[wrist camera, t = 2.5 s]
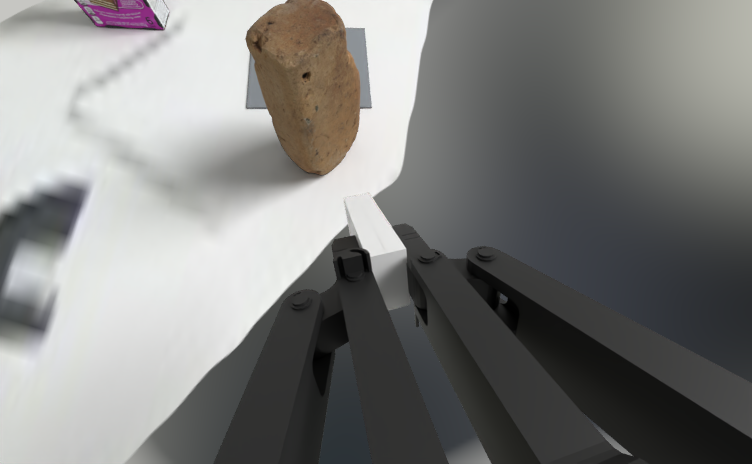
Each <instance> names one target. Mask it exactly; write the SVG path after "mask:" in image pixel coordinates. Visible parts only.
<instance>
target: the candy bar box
mask: <svg viewBox="0 0 752 464" xmlns="http://www.w3.org/2000/svg"><path fill="white" fill-rule="evenodd" d="M74 1H75V2H76V3H77V4H78V5H79V7H80V8H81V9H82V10H83V11H84V12H85V14H86V15H87V16H88V17H89V18H90V19H91V21H92V22H93V23H94V24H95V25H96V26H102V27H123V28H143V29H161V30H164V29H165V27H166V22H167V18H168V15H169V9H168V8H167V6H166V4H165V3H164V1H163V0H74Z"/></svg>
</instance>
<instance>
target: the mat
mask: <svg viewBox="0 0 752 464" xmlns="http://www.w3.org/2000/svg"><path fill="white" fill-rule="evenodd" d="M345 30H346V40H347V50H348V51H349V52H350V53H351V55H352V57H353V59H354V62H355V64H356V67H357V69H358V71H359V75H360V108H371V107H372V106H371V95H370V84H369V73H368V62H367V51H366V39H365V28H345ZM254 64H255V60H254V58H253V57H252V55H251V60H250V73H249V86H248V99H247V108H267V106H266V104H265V101H264V98H263V95H262V92H261V89H260V85H259V82H258V79H257V75H256V72H255V66H254Z"/></svg>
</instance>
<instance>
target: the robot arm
mask: <svg viewBox="0 0 752 464" xmlns="http://www.w3.org/2000/svg"><path fill="white" fill-rule="evenodd" d="M343 199H344V204H345V210H346V215H347V220H348V226H349V231H350V236H349V237H344V238H340V239H335V240H334V242H333V244H332V251H333V257H334V259H333V263H334V268H335V272H336V276H337V280H336V282H335V284H334V285H333V286H332V287H331V288H330V289H328V290H327V291H325V292H323V293H321V294H319V293H318V292H316V291H314V290H301V291H298V292H295V293H293V294H292V295H290V296H289V297H287V298H286V299H285V301H284V302H283V304H282V306H281V308H280V310H279V312H278V315H277V317H276V319H275V322H274V324H273V326H272V329H271V331H270V333H269V336H268V338H267V341H266V343H265V345H264V348H263V350H262V352H261V354H260V357H259V359H258V361H257V364H256V366H255V368H254V371H253V373H252V375H251V378H250V380H249V382H248V385H247V387H246V389H245V392H244V394H243V396H242V398H241V401H240V403H239V405H238V408H237V410H236V412H235V415H234V417H233V419H232V422H231V424H230V426H229V429H228V431H227V433H226V436H225V438H224V440H223V443H222V445H221V447H220V450H219V452H218V454H217V457H216V459H215V461H214V464H319V458H320V451H321V444H322V438H323V432H324V425H325V418H326V412H327V405H328V399H329V392H330V386H331V379H332V372H333V366H334V360H335V349H337V348H339V347H340V346H342V345H344V344H345V343H347V342H349V344H350V349H351V354H352V359H353V364H354V369H355V375H356V380H357V386H358V391H359V396H360V401H361V406H362V412H363V417H364V422H365V427H366V433H367V438H368V443H369V448H370V454H371V459H372V464H449V463H448V461H447V458H446V456H445V453H444V451H443V448H442V446H441V443H440V440H439V438H438V435H437V433H436V430H435V428H434V425H433V423H432V420H431V418H430V415H429V413H428V410H427V408H426V405H425V403H424V400H423V398H422V395H421V393H420V390H419V388H418V385H417V383H416V380H415V377H414V375H413V372H412V370H411V367H410V365H409V363H408V360H407V357H406V355H405V352H404V350H403V347H402V345H401V342H400V340H399V337H398V335H397V332H396V330H395V327H394V325H393V322H392V320H391V317H390V314H389V312H388V310H392V309H396V308H399V307H403V306H407V305H410V304H411V302H410V296H411V297H412V299H413V301H414V310H415V323H416V327H418V326H419V322H420V324H421V325H422V327H423V329H424V331H425V333H426V335H427V337H428V339H429V341H430V343H431V345H432V347H433V349H434V351H435V353H436V355H437V357H438V359H439V361H440V363H441V365H442V367H443V369H444V371H445V373H446V374H447V377H448V379H449V381H450V383H451V385H452V387H453V388H454V391H455V392H456V394H457V396H458V398H459V400H460V402H461V404H462V406H463V408H464V410H465V412H466V414H467V416H468V418H469V420H470V422H471V424H472V426H473V428H474V430H475V432H476V434H477V436H478V438H479V440H480V442H481V443H482V446H483V448H484V449H485V452H486V453H487V456H488V458H489V459H490V461H491V463H492V464H752V383H750V382H748V381H746V380H745V379H743V378H741V377H739V376H737V375H735V374H733V373H731V372H729V371H728V370H726V369H724V368H722V367H720V366H718V365H716V364H714V363H712V362H710V361H709V360H707V359H705V358H703V357H701V356H699V355H697V354H695V353H693V352H691V351H689V350H688V349H686V348H683V347H682V346H680V345H678V344H676V343H674V342H672V341H671V340H668V339H667V338H665V337H663V336H661V335H659V334H657V333H655V332H653V331H652V330H650V329H648V328H646V327H644V326H642V325H640V324H638V323H636V322H634V321H633V320H630V319H629V318H627V317H625V316H623V315H621V314H619V313H617V312H615V311H614V310H612V309H610V308H608V307H606V306H604V305H602V304H600V303H598V302H596V301H595V300H593V299H590V298H589V297H587V296H585V295H583V294H581V293H579V292H577V291H576V290H574V289H572V288H570V287H568V286H566V285H564V284H562V283H560V282H558V281H557V280H555V279H553V278H551V277H549V276H547V275H545V274H543V273H541V272H539V271H537V270H536V269H534V268H532V267H530V266H528V265H526V264H524V263H522V262H520V261H518V260H517V259H515V258H513V257H511V256H509V255H507V254H505V253H503V252H501V251H500V250H497V249H495V248H492V247H486V246H482V247H475V248H472V249H471V250H469V251H468V253H467V259H448V258H447V257H446V256H445V255H444V254H443V253H441V252H440V251H437V250H435V249H430V248H429V247H428V245H427V244H426V243H425V242H424V241H423V239H422V238H421V237H420V236H419V234H418V233H417V232H416V231H415V230H414V228H413V227H411V226H409V225H407V224H400V225H396V226H391V225H390V224H389V222H388V221H387V219H386V218H385V216H384V215H383V213H382V212H381V210H380V209H379V207H378V206H377V204H376V203H375V201H374V200H373V198H372V197H371V195H370V194H369V193H366V194H360V195H355V196H350V197H345V198H343ZM501 293H502V294H503V295H505V296H506V297H508V301H507V302H506V301H504V300H502V299H501V298H500V294H501ZM582 412H583V413H584V414H585V415H586V416H587V417H588V418H590V419H591V420H592V421H593V422H594V423H596V424H597V425H598V426H599V427H600V428H601V429H603V430H604V431H605V432H606V433H607V434H608V435H610V436H611V437H612V438H613V439H614V440H616V441H617V442H618V443H619V444H620V445H621V446H622V447H624V448H625V449H626V450H627V451H628V452H629V453H631V454H632V455H633V456H630V455H627V454H623V453H621V452H619V451H618V450H616V449H615V448H614V447H613V446H612V445H611V444H610V443H609V442H608V441H607V440H606V439H605V438H604V437H603V436H602V435H601V434H600V432H599V431H598V430H597V429H596V428H595V427H594V426H593V424H592V423H591V422H590V421H589V420H588V419H587V418H586V416H585V415H584V414H583V413H582Z"/></svg>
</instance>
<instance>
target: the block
mask: <svg viewBox="0 0 752 464" xmlns="http://www.w3.org/2000/svg"><path fill="white" fill-rule="evenodd" d="M246 43H247V47H248V49H249V51H250V53H251V55H252V57H253V58H254V60H255V64H254V66H255V72H256V75H257V79H258V82H259V85H260V89H261V92H262V95H263V98H264V101H265V104H266V106H267V109H268V111H269V114H270V115H271V117H272V122H273V126H274V129H275V131H276V134H277V136H278V138H279V141H280V143H281V145H282V147H283V149H284V150H285V152H286V153H287V155H288V156H289V157H290V158H291V159H292V160H293V161H294V162H295V163H296V164H297V165H298V166H299V167H300V168H301V169H303V170H304V171H306V172H308V173H315V174H319V175H324V174H327V173H329V172H330V171H331V170H333V169H334V168H335V167H336V166H337V165H338V164H339V163H340V162H341V161H342V160H343V158H344V157H345V155H346V153H347V151H349V149H350V147H351V146H352V143H353V142H354V140H355V138H356V134H357V132H358V127H359V113H360V75H359V71H358V69H357V67H356V64H355V62H354V59H353V57H352V55H351V53H350V52H349V51H348V50H347V40H346V30H345V26H344V23H343V21H342V19H341V18H340V16H339V15H338V14H337V13H336V12H335V10H334V8H333V7H332V6H331V5H329V4H328V3H327V2H325V1H322V0H287V2H286V3H285V4H279V5H277V6H275V7H273V8H272V9H270V10H269V11H268V12H267V13H266V14H264V15H263V16H262V17H260V18H259V19H258V20H257V21H256V22H255V23H254V24H253V25H252V27H251V28H250V29H249V30H248V31H247V36H246Z"/></svg>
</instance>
